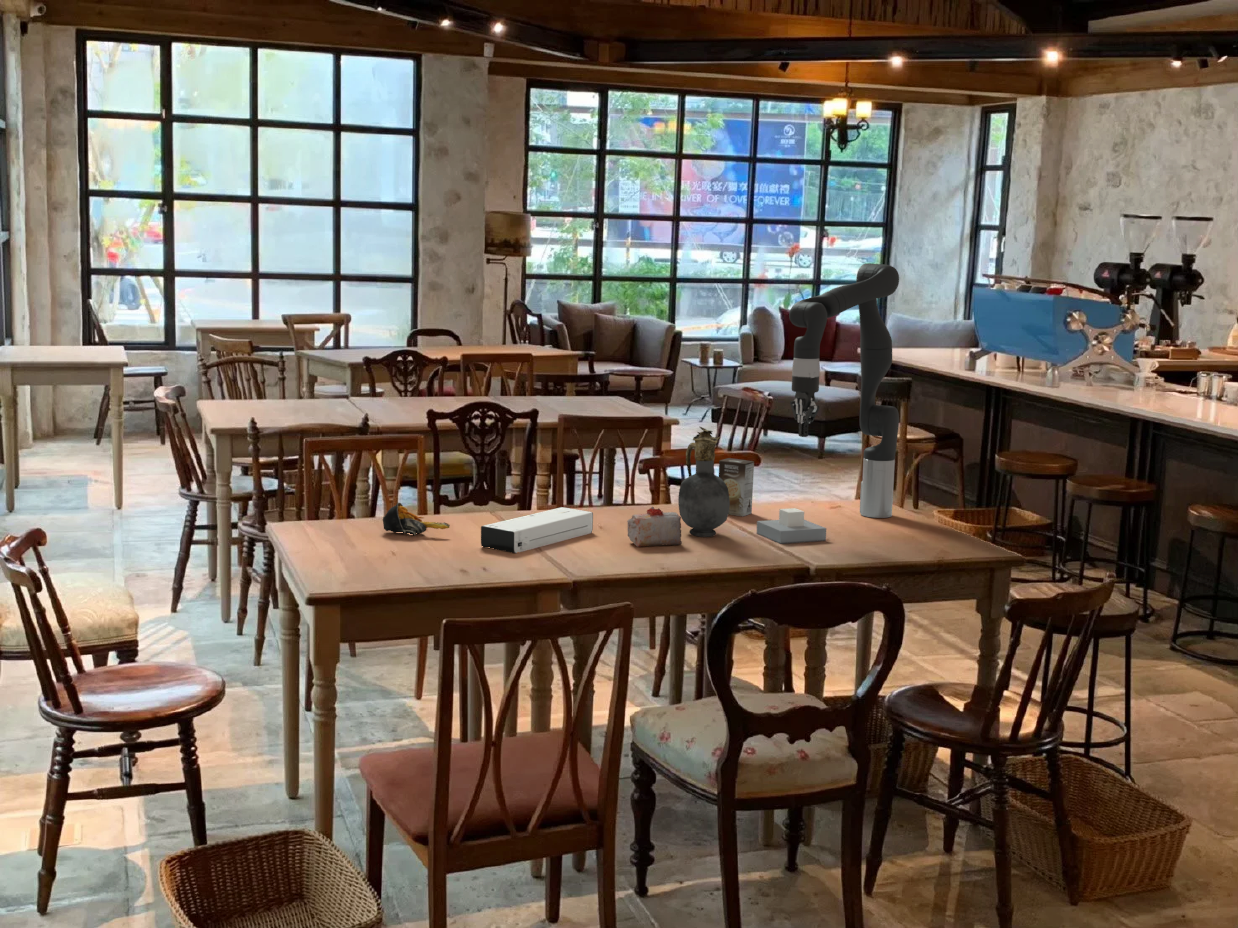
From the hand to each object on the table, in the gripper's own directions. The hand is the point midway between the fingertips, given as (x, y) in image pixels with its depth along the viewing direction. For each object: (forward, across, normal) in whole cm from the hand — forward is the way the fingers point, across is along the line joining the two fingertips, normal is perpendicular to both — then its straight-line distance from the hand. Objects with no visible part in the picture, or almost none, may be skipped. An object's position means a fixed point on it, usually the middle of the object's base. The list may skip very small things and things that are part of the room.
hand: (803, 436), depth 370 cm
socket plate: (+27, +6, -6) cm, 28 cm away
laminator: (+28, -10, -74) cm, 79 cm away
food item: (+27, +3, -46) cm, 53 cm away
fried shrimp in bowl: (+27, -26, -104) cm, 111 cm away
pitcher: (+27, -6, -28) cm, 39 cm away
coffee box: (+27, -29, -6) cm, 40 cm away
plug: (+26, +6, -6) cm, 28 cm away
